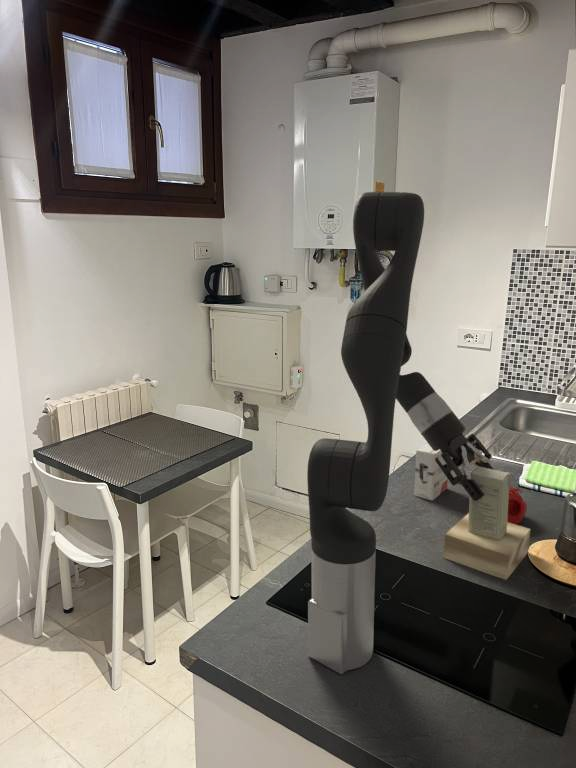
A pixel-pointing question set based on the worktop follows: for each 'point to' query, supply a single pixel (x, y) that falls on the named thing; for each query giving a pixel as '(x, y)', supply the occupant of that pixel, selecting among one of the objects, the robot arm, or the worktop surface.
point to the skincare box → (490, 503)
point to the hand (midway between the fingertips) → (488, 490)
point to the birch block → (487, 548)
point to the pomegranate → (515, 506)
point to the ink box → (428, 474)
